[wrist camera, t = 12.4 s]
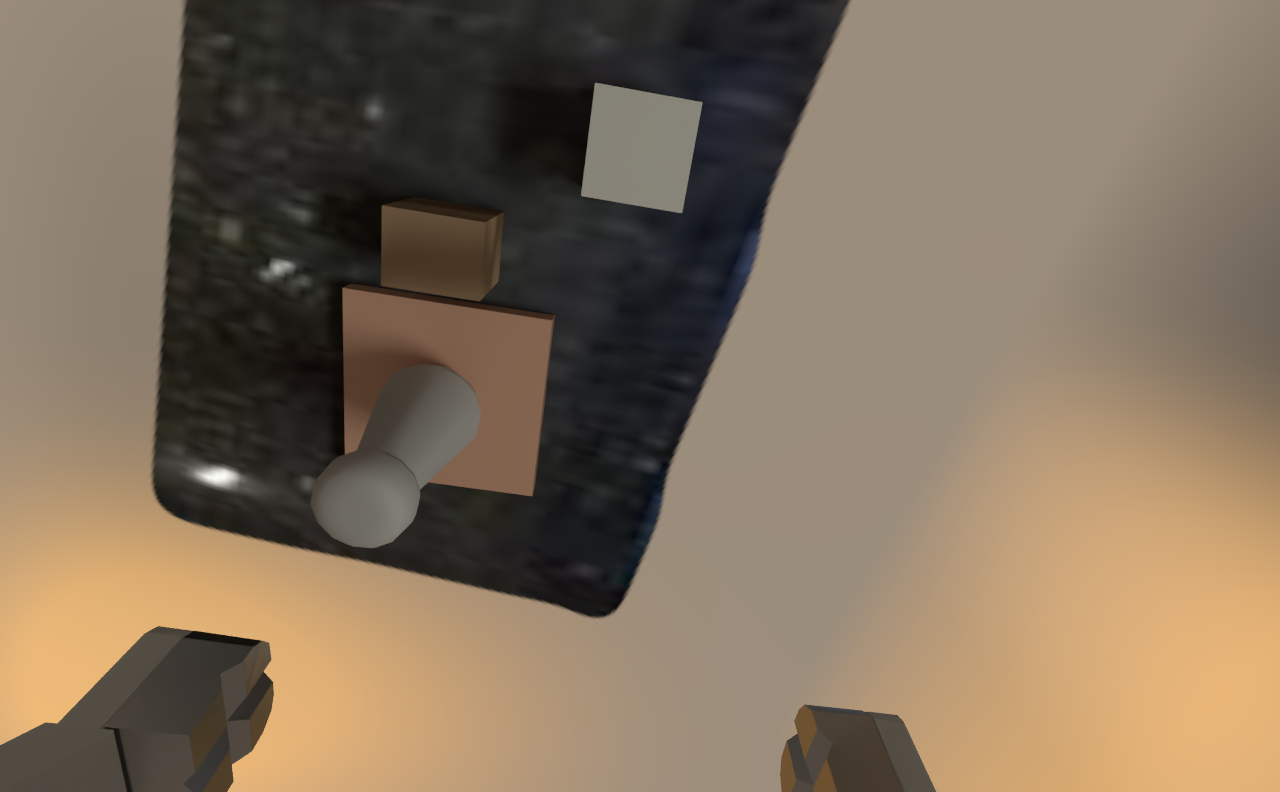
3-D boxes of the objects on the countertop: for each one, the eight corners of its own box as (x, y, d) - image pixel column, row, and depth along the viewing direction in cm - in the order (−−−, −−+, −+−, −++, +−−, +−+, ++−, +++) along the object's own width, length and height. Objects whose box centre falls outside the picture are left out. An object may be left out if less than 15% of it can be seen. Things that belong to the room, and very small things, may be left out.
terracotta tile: (351, 283, 37) (342, 287, 36) (554, 315, 38) (552, 320, 36) (352, 462, 41) (345, 471, 40) (534, 486, 42) (532, 496, 41)
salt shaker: (378, 411, 38) (263, 534, 26) (415, 334, 37) (310, 429, 25) (464, 454, 40) (391, 591, 28) (505, 382, 38) (446, 495, 26)
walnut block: (414, 196, 35) (381, 205, 30) (504, 211, 35) (485, 222, 31) (412, 267, 36) (380, 285, 32) (498, 281, 37) (479, 301, 32)
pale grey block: (600, 90, 33) (595, 82, 28) (692, 107, 33) (702, 102, 29) (587, 188, 35) (580, 196, 30) (675, 203, 35) (682, 213, 31)
